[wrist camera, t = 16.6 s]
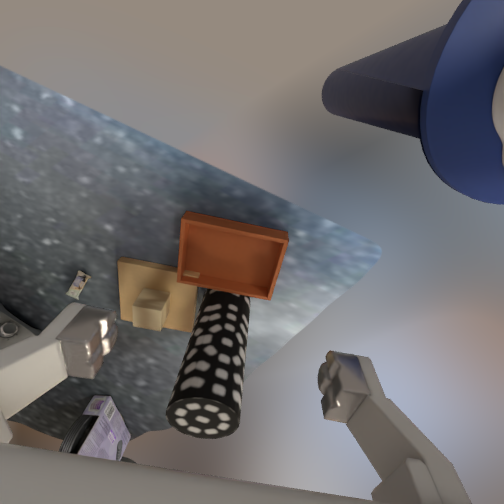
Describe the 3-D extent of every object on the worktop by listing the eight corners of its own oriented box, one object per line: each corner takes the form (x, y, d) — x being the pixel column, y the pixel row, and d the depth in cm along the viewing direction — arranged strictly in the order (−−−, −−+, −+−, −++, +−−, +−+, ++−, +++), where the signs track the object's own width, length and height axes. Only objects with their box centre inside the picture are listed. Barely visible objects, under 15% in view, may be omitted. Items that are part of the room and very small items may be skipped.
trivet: (200, 271, 44) (198, 276, 43) (193, 326, 51) (191, 332, 50) (121, 256, 44) (117, 261, 42) (124, 314, 50) (120, 319, 49)
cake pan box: (90, 391, 64) (33, 484, 48) (110, 392, 63) (59, 486, 48) (114, 434, 73) (74, 522, 58) (132, 434, 73) (96, 524, 58)
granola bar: (79, 298, 49) (76, 302, 48) (67, 291, 48) (63, 295, 47) (93, 275, 46) (89, 278, 45) (80, 267, 45) (76, 271, 44)
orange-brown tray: (287, 231, 40) (289, 240, 37) (270, 289, 45) (270, 300, 43) (186, 210, 39) (181, 218, 37) (181, 272, 45) (176, 282, 42)
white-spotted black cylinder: (196, 308, 48) (156, 425, 31) (214, 275, 45) (180, 388, 27) (237, 325, 50) (221, 445, 33) (258, 294, 46) (252, 413, 29)
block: (170, 292, 45) (161, 311, 41) (169, 312, 47) (160, 331, 43) (143, 287, 45) (132, 305, 41) (144, 307, 47) (132, 326, 43)
